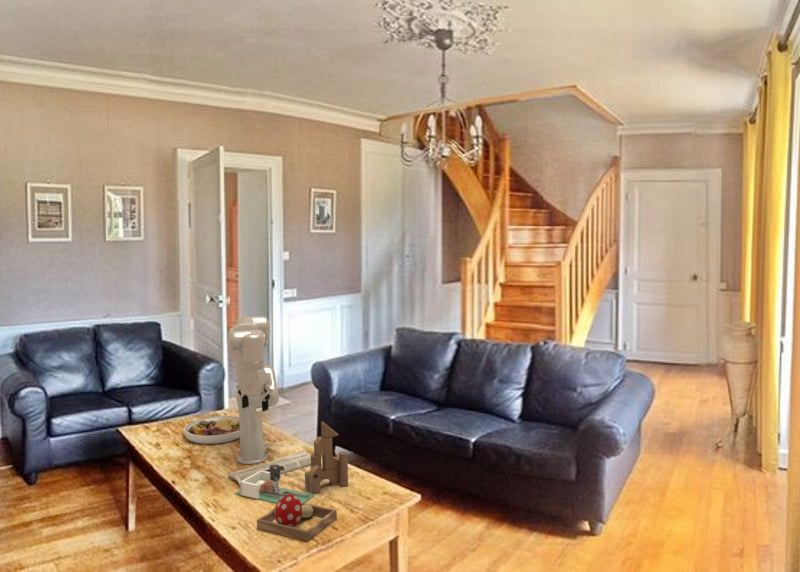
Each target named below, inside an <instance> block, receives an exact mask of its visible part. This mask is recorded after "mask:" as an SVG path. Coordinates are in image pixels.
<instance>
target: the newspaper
mask: <svg viewBox="0 0 800 572" xmlns="http://www.w3.org/2000/svg"><path fill="white" fill-rule="evenodd" d="M311 455H312V454H309V453H308V452H306V450H305V449H302V450H299V451H296V452H294V453H291V454H289V455H286V456H283V457H280V458H278V459H274V460H272V461H269V462H265V463H262V464H258V465H255V466H251V467H247V468H243V469H239V470H235V471H233V472H229V475H228V476H227V478H228V480H231V481H234V480H236V482H238V485H239V486H240V482H241V481H242V480H244V479H246V478H248V477H250V476H251V475H253V474H255V473H257V472H259V471H260V470H262V471H267V472H270V466H271V465H280V476H281V475H283V474H284V475H285V474H289V473H290V472H294V471H297V470H300V469H304V468H307V467H311Z"/></svg>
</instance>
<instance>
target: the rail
mask: <svg viewBox="0 0 800 572" xmlns="http://www.w3.org/2000/svg"><path fill="white" fill-rule="evenodd" d="M280 490H283V489H280ZM285 491H286V494H293V495H295V496H300V497H304V498H311V495H307V494H302V493H297V492H293V491H288V490H285ZM261 495H262V496H267V497H271V498H276V499H281V498H282V497H283V496H278V495H274V494H269V493H265V492H262V493H261ZM311 499H312V498H311ZM300 502H302V503H303V501H301V500H300Z"/></svg>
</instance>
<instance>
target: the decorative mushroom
mask: <svg viewBox="0 0 800 572" xmlns="http://www.w3.org/2000/svg"><path fill="white" fill-rule="evenodd" d="M307 504H308V503H306V505H301V502H300V500H299V499H298V497H297V496H295V495H293V494H287V495H284V496H283V497H282V498H281V499H280V500H279V501H278V502H277V503H275V518H276V519H275V521H276V523H278V524H282V525H286V526H290V527H294V528H296V526H297V525H298V524H299V523H300V521H301V518H302V519H310V518H311V517H312V516H313V515H312V514H313V508H312V507H311V505H312V504H311V505H307Z"/></svg>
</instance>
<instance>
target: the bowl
mask: <svg viewBox="0 0 800 572" xmlns="http://www.w3.org/2000/svg"><path fill="white" fill-rule="evenodd" d="M183 433H184V434H183V435H184V436H185V438H186V439H187V440H188V441H191V442H192V443H196V444H199V445H200V444H202V445H216V444H217V445H219V444H223V443H229V442H233V441H235V440H238V439H240V424H239V416H235V415H219V416H210V417H206V418H205V417H204V418H201V419H197V420H193V421H191V422H189V423H188V424H187V425H185V426H184V428H183Z"/></svg>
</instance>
